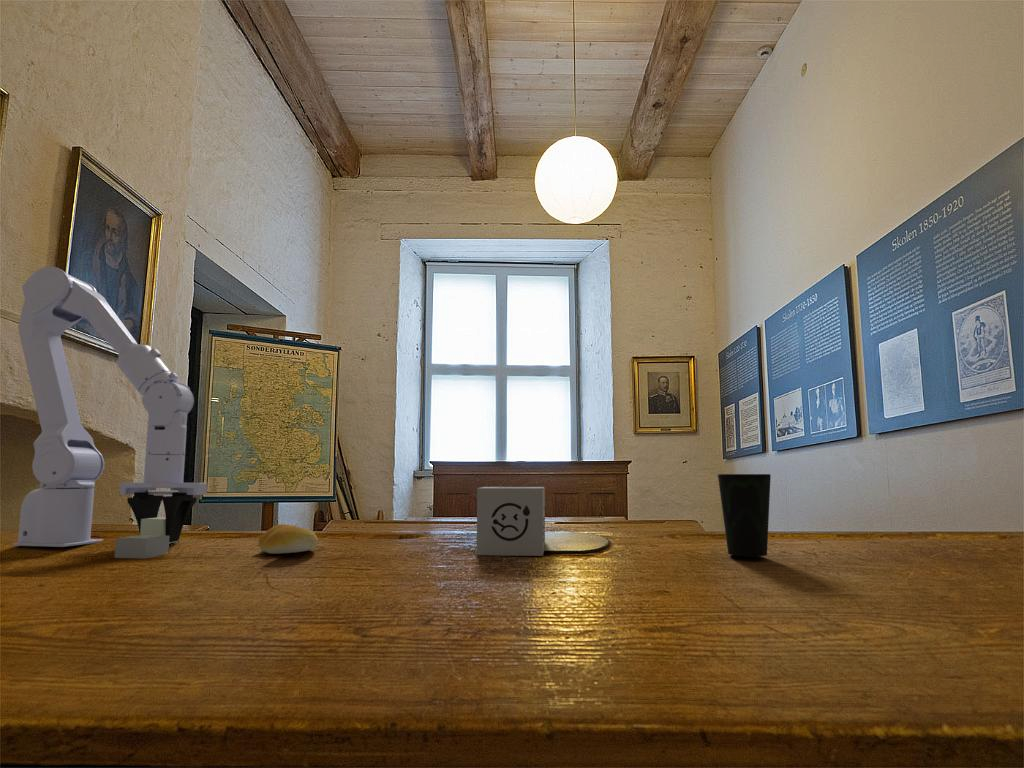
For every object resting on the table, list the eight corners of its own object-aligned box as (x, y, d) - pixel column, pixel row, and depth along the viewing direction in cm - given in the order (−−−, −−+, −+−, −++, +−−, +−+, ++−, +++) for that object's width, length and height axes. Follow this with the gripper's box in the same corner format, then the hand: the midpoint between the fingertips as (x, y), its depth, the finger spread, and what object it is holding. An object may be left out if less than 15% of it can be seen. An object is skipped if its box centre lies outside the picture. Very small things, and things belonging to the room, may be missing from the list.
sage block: (138, 551, 106) (141, 518, 107) (157, 548, 110) (159, 517, 111) (161, 551, 106) (163, 519, 106) (178, 549, 109) (180, 517, 110)
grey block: (114, 559, 98) (115, 537, 99) (138, 555, 103) (140, 534, 104) (145, 560, 98) (146, 538, 98) (168, 555, 103) (169, 535, 103)
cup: (773, 552, 105) (769, 474, 107) (775, 558, 98) (771, 474, 100) (721, 550, 108) (718, 474, 109) (719, 556, 100) (716, 474, 102)
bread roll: (273, 555, 97) (272, 527, 98) (252, 552, 104) (252, 526, 105) (327, 549, 102) (327, 522, 103) (304, 546, 109) (304, 521, 110)
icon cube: (545, 548, 112) (544, 486, 113) (542, 555, 102) (542, 488, 103) (484, 547, 112) (484, 486, 114) (476, 555, 103) (477, 488, 104)
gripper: (107, 454, 108) (100, 542, 106) (188, 454, 105) (182, 544, 103) (140, 455, 114) (134, 538, 113) (217, 455, 111) (212, 540, 110)
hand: (159, 541), depth 108 cm, fingers closed on sage block, 4 cm apart
